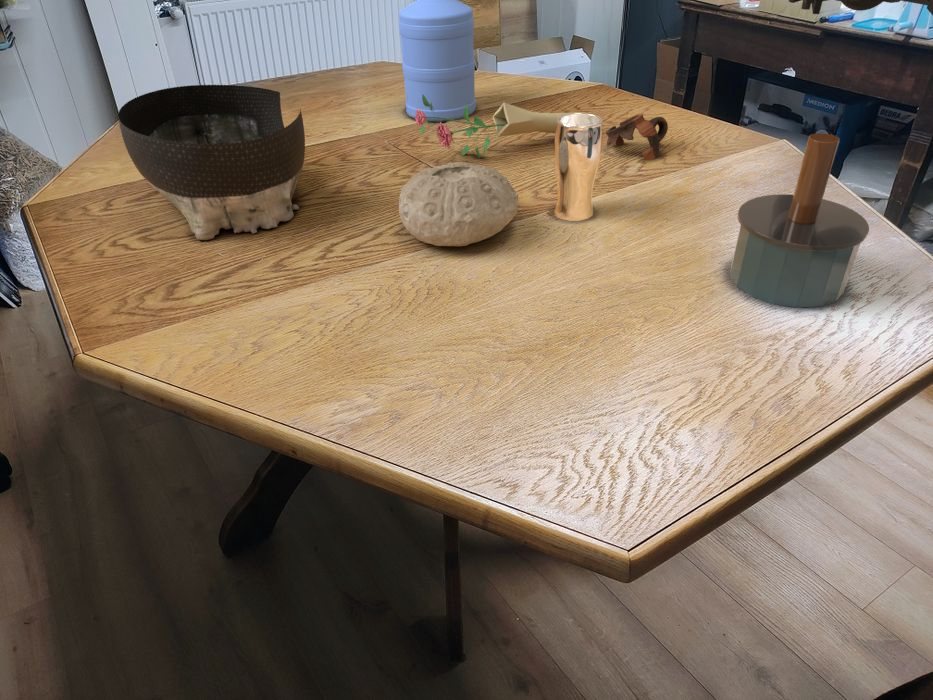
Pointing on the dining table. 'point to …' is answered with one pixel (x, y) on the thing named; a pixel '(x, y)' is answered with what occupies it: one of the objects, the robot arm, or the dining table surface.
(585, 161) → the beer glass
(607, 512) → the dining table surface
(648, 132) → the twisted brown loop sculpture
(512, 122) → the flower vase
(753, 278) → the pot
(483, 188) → the decorative shell
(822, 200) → the lid
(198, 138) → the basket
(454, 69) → the water jug
